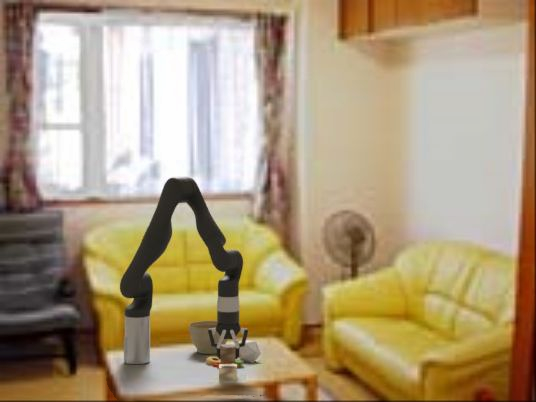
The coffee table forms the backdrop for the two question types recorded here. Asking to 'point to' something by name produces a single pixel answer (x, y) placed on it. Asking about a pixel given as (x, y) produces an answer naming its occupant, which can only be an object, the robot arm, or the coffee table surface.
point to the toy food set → (216, 362)
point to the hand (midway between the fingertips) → (228, 358)
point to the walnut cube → (227, 354)
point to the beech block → (227, 371)
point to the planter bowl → (204, 336)
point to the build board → (240, 379)
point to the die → (249, 352)
